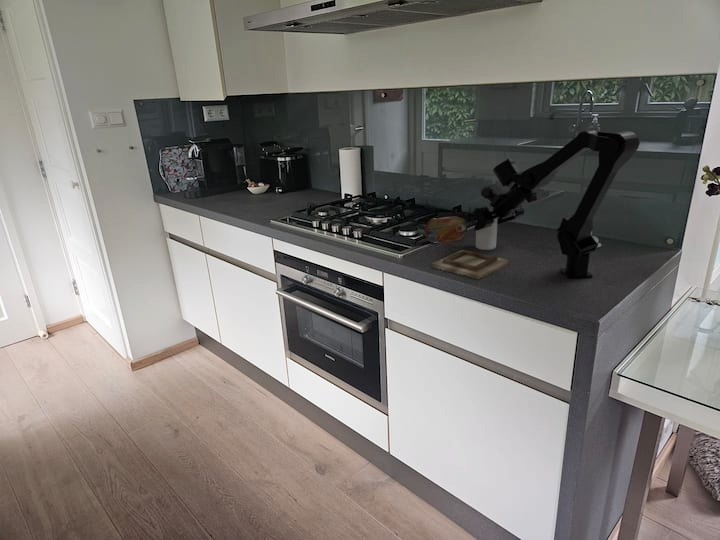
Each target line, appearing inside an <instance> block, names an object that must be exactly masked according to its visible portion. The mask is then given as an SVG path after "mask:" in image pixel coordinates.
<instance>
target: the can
mask: <svg viewBox="0 0 720 540" xmlns="http://www.w3.org/2000/svg"><path fill="white" fill-rule="evenodd" d="M488 210H489V211H490V212H491V211H493V209H488ZM475 222H476V223H477V221H475ZM476 223H475V224H476ZM491 225H492V226H489V227H486V228H483V229H480V230H477V231H476V230H475V248H476V249H477V250H480V251H493V250H495V248H496V247H497V237H498V235H497V234H498V233H497V232H498V225H497V218H496V219H494V223H493V224H491Z"/></svg>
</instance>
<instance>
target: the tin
mask: <svg viewBox="0 0 720 540" xmlns="http://www.w3.org/2000/svg"><path fill="white" fill-rule="evenodd" d="M467 232H468V223H467V221H466V219H465V218H463V217H459V216H455V215H454V216H445V217H439V218H438V217H437V218H433V219H430V220H429V221H428V222H427V223H426V224H425V226H424V236H425V238H426V239H427V241H429V242H430V243H432V242H441V243H440V244H444V243H451V242H458V241H460V240H462V239H463V238H464V237H465V236H466V234H467Z"/></svg>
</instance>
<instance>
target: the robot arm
mask: <svg viewBox="0 0 720 540" xmlns="http://www.w3.org/2000/svg"><path fill="white" fill-rule="evenodd" d="M640 144H641V142H640V140H639V136H638V135H637V134H636V133H635V132H633V131H631V130H627V131H626V130H625V131H620V132H606V131H605V132H604V131H597V130H594V129H592V130H591V129H590V130H584V131H581V132H579V133H578V134H577V135H576V137H574V138H573V139H571V140H570V141H569V142H567V143H566V144H565V145H564V146H562V147H561V148H560V149H559V150H557V151H556V152H554V154H552V155H551V156H549V157H548V158H547V159H546V160H544V161H542V162H540V163H538V164H534V165H533V166H530V167H529V168H527V169H525V170H522V171H521V170H520V168H519V167H518V165H517V164H516V162H515V160H514V158H513V157H510V158H506V160H504V161H502V162H501V163H499V164H497V165H496V166H494V167H493V170H492V172H493V173H494V175H495V176H496V178H497V180H498V181H499V182H500V184H501V186H502V187H507V188H509V189H508V190H507V191H506V192H505V190H503V188H501V187H500V186H498V185H496V184H489V185H486V186H484V187H483V188H482V189H481V192H480V196H481V197H483V198H484V199H485V200H487V201H489V206H490V207H491V208H492V210H493V211H491V212H490V211H489V210H490V209H489V208H488V206H486V205H481V206H478V207H475V208H473V210H472V211H471V214H472V215H473V217H474V219H475V220H476V222H477V223H475V225H474V227H473V229H474V231H475V232H476V231H477V230H480V229H483V228H486V227H489V226H492V225H491V224H493V223H494V219H496V218H497V226H498V225H501V224H504V223H507V222H511V221H513V220H516V219H520V218H521V217H523V215H525V210H524V208H523V206H522V205H523V204H524V203H525V202H526V201H527V203H528V204H529V203H533V202H537V201H538V196H537V194H538V193H537V192H536V191H534V190H536V189H540V188H544V187H546V186H547V185H548V184H549V183H550V182H551V181H552V180H553V179H554V178H555V177H556V174H557V173H558V172H559V171H561V169H563V168H564V167H565V166H567V165H568V164H570V163H571V162H572V161H573V160H575V159H577V158H578V157H579V156H581V155H582V154H584V153H585V152H587V150H592V151H593V152H598V155H597V157H598V165H597V168H596V169H595V172H594V173H593V174H594V175H593V176H592V178H591V180H590V182H589V184H588V186H587V188H586V190H585V192H584V193H583V195H582V197H581V199H580V202H579V204H578V206H577V208H576V210H575V212H574V213H573V214H572V215H569V216H565V217H563V218H562V219H561V221H560V224H559V227H558V228H556V231H557V234H556V238H557V240H558V243H559V247H560V251H561V254H562V255H565V256H566V259H565V267H561V268H560V269H559V271H560V272H561V273H563V275H565V276H566V277H567V278H568V279H579V278H580V279H582V278H593V274H592V273H591V272H589V264H590V256H591V253H593V252H596V250H597V249H598V248H599V247H598V244H597V243H596V241H595V240H594V238H593V237H592V236H593V235H591V232H592V233H593V227H594V225H593V224H594V221H593V220H594V217H595V215H596V214H597V211H598V209H599V207H600V206H601V204H602V201H603V200H604V198H605V196H606V194H607V193H608V191H609V190H610V189H609V188H610V187H611V184H612V183H613V181H614V179H615V178H616V176H617V174H618V172H619V170H621V168H622V167H623V166H624V165H626V164H627V163H628V162H629V161H630V159H632V157H633V156H634V155H635V154H636V153H637V150H638V149H639V148H640ZM597 247H598V248H597Z"/></svg>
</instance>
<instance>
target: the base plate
mask: <svg viewBox="0 0 720 540" xmlns="http://www.w3.org/2000/svg"><path fill="white" fill-rule="evenodd" d="M507 265H509V260H508V259H506V258H501V257H497V256H492V255H490V254H489V255H488V254H484V253H480V252H474V251H470V250H465V249H461V250H458V251H456V252H455V253H452V254H450V255H448V256H445V257H443V258H441V259H438V260H437V261H434V262H432V263H431V268H434V269H436V268H437V269H436V270H440V269H441V271H444V270H446V271H445V272H448V271H450V272H449V273H451V272H454V273H453V274H455V273H458V274H457V275H459V274H462V275H461V276H463V275H466V276H469V277H468V278H470V277H473V278H472V279H474V278H476V279H475V280H478V279H480V278H482V277H483V278H485V277H487V276H489V275H491V274H493V273H495V272H496V271H498V270H500V269H502V268H504V267H505V266H507ZM494 271H495V272H494ZM492 272H493V273H492ZM490 273H491V274H490ZM488 274H489V275H488ZM486 275H487V276H486ZM466 276H465V277H466ZM484 276H485V277H484ZM483 278H482V279H483ZM480 280H481V279H480Z"/></svg>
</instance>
